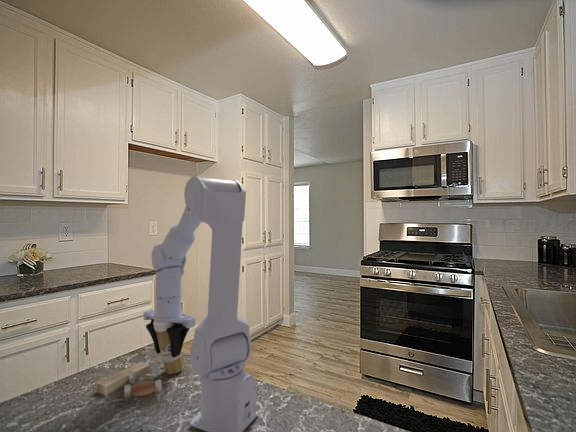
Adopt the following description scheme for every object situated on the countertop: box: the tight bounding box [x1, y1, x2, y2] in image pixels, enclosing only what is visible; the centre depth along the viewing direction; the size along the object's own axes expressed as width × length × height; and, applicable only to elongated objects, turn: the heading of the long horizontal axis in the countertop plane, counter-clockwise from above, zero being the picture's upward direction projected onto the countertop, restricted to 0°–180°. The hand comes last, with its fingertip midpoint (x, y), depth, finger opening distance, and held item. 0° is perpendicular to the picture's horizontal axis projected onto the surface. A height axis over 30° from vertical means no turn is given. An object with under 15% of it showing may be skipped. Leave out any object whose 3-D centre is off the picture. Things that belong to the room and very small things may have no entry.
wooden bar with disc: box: [96, 361, 156, 397], centre depth 69 cm, size 11×11×2 cm
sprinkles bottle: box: [153, 320, 185, 375], centre depth 74 cm, size 5×5×14 cm
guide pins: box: [123, 372, 162, 400], centre depth 66 cm, size 9×5×2 cm, turn 65°
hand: (168, 353), depth 74 cm, fingers closed on sprinkles bottle, 4 cm apart
